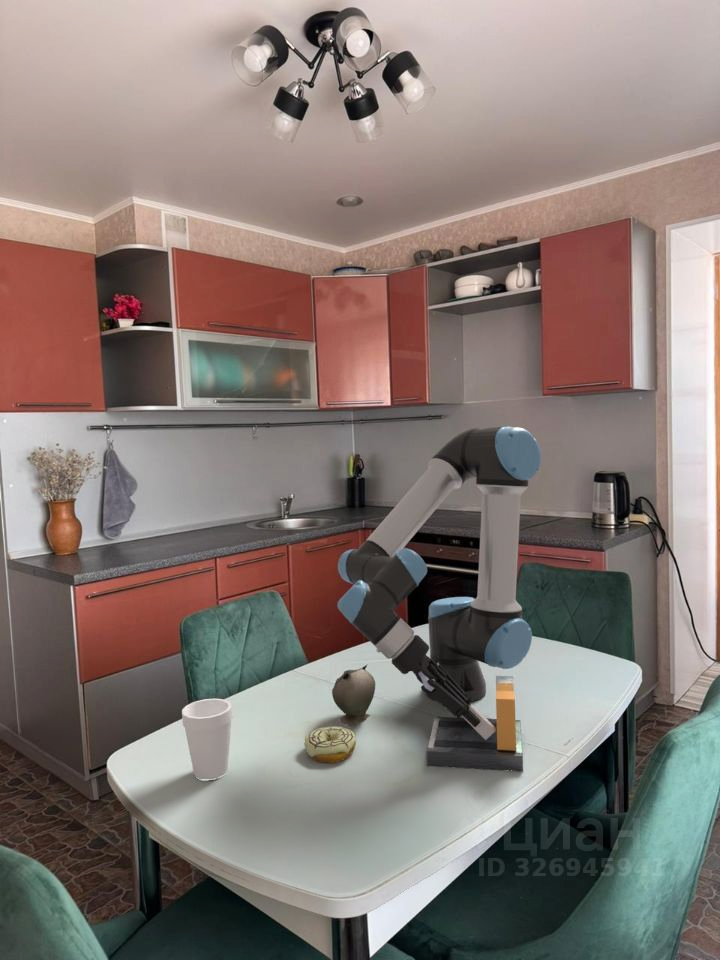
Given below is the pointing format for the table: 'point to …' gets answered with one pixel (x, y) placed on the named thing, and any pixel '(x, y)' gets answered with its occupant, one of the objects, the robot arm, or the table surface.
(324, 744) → the decorated donut
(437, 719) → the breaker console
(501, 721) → the handle
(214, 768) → the foam cup
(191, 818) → the table surface
